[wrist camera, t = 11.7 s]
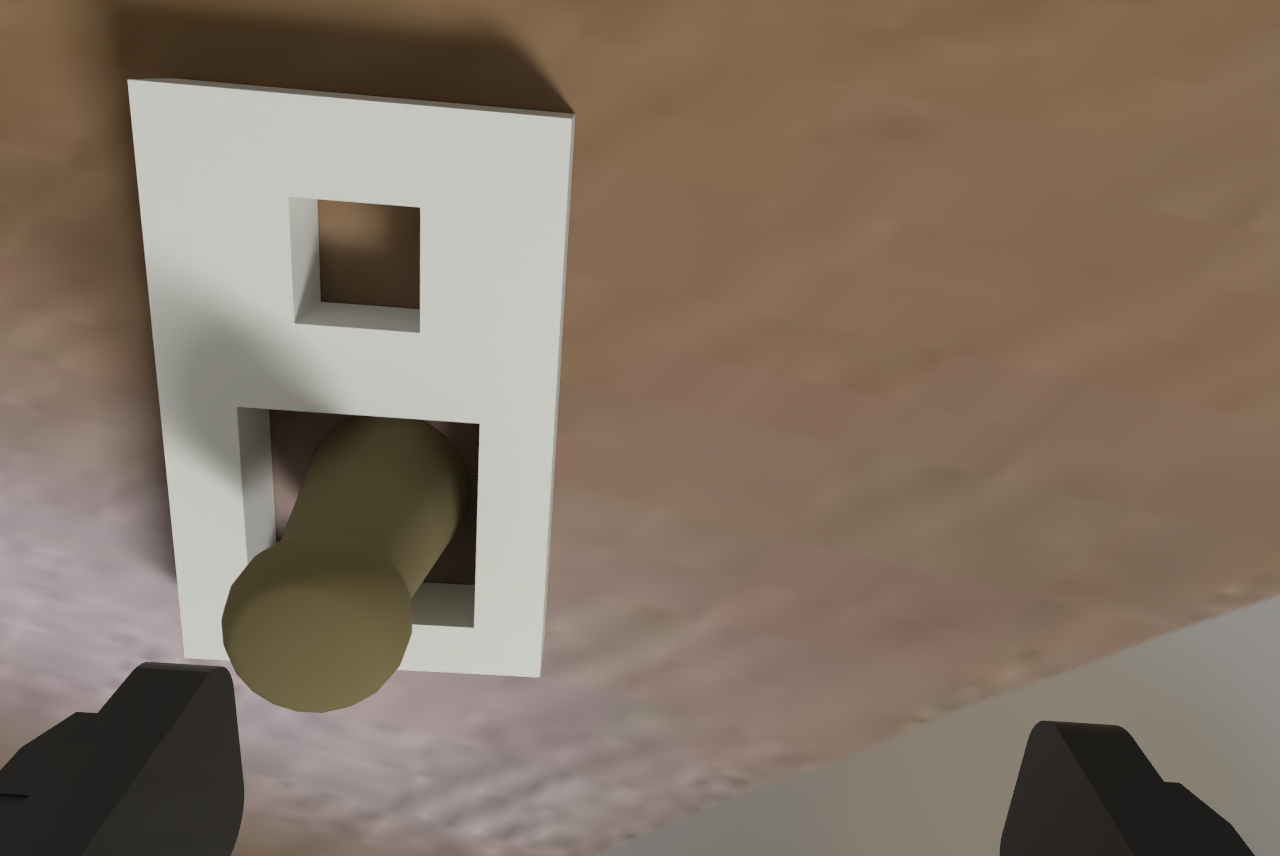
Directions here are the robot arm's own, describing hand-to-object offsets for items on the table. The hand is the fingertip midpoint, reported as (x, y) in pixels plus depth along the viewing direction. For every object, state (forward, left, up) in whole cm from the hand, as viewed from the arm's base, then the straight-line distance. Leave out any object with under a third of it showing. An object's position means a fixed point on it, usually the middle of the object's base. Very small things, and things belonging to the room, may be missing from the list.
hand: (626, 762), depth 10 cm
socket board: (+8, +5, -25) cm, 27 cm away
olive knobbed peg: (+8, +9, -26) cm, 28 cm away
